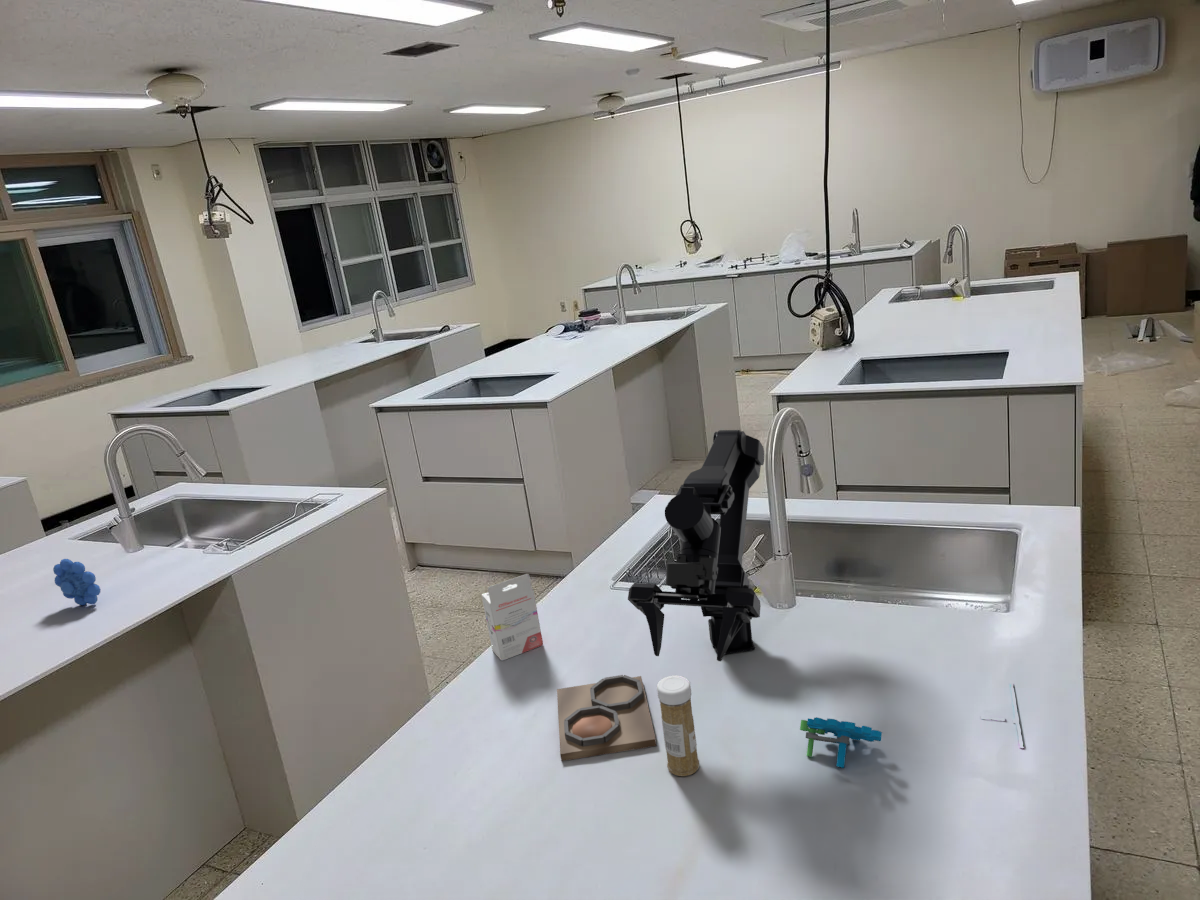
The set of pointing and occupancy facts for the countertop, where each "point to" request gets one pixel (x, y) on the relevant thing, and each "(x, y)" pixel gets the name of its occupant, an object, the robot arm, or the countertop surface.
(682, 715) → the sprinkles bottle
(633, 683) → the board
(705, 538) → the robot arm
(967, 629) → the countertop surface
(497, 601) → the ink cartridge box
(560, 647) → the countertop surface
